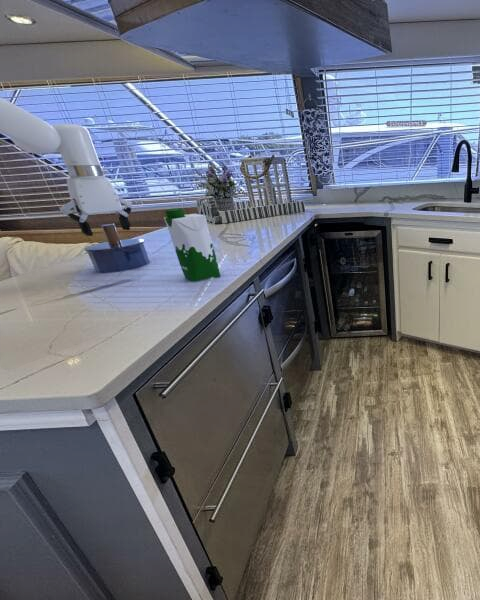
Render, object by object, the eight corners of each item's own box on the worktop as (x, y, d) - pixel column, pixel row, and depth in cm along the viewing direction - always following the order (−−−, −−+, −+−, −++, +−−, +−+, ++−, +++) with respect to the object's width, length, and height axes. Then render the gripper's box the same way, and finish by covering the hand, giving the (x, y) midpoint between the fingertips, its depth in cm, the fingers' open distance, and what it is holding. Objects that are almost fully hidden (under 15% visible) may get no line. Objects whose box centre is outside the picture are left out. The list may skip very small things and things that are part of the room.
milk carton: (181, 279, 94) (158, 209, 86) (213, 271, 101) (194, 205, 93) (192, 285, 89) (169, 211, 81) (225, 276, 96) (206, 207, 88)
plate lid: (100, 255, 92) (90, 230, 89) (76, 251, 98) (65, 228, 95) (154, 244, 104) (146, 221, 101) (130, 241, 110) (122, 219, 107)
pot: (117, 281, 95) (105, 253, 91) (85, 274, 103) (74, 248, 99) (165, 268, 106) (156, 243, 102) (133, 263, 114) (124, 239, 110)
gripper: (114, 172, 101) (133, 227, 107) (39, 174, 87) (66, 237, 93) (127, 171, 98) (146, 228, 104) (52, 173, 84) (79, 239, 90)
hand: (108, 232), depth 99 cm, fingers open, 9 cm apart
